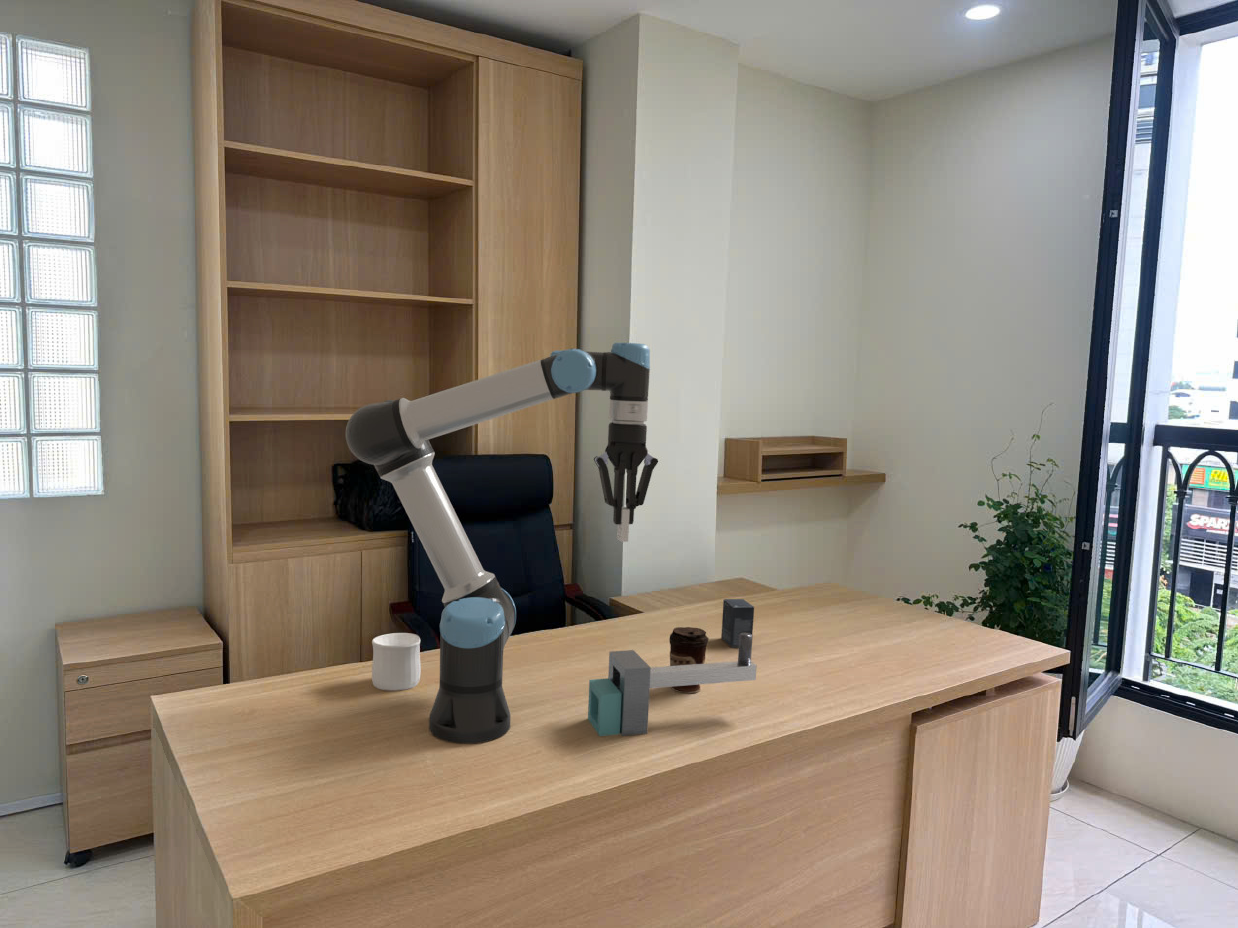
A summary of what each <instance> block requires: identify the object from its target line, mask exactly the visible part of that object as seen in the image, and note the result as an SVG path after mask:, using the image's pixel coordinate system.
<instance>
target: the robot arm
mask: <svg viewBox="0 0 1238 928" xmlns="http://www.w3.org/2000/svg"><path fill="white" fill-rule="evenodd" d="M650 352H651V350H650V347H649V346H648V345H647V344H645V343H637V342H614V343H613V344H612V345H611V349H610V351H607V352H605V351H603V352H600V351H599V352H597V351H585V350H582V349H579V348H569V349H563V350H553V351H552V352H551V353H550V355H549V356H548V357H545V358H543V359H539V360H536V361H535V360H534V361H532V362H529V363H526V364H523V365H519V366H516V367H513V368H510V369H507V370H504V371H500V372H497V373H495V374H492V375H488V376H485V377H482V378H479V379H475V380H473V381H469V382H467V383H463V384H461V385H457V386H454V387H451V388H447V389H444V390H441V391H438V392H435V393H432V394H430V395H425V396H423V397H420V398H417V399H414V400H409V399H407V398H405V397H401V398H398V399H396V400H391V399H390V400H385V401H381V402H376V403H375V402H374V403H368V404H366V405H364V406H362V407H360V408H358V409H357V410H355V412H353V414H352V415H351V416H350V418H349V419H348V421H347V424H346V427H345V440H346V445H347V446H348V449H349V450H350V452H351V453H352V454H353V455H354V456H355V457H356V458H357V459H358V460H359V461H362V462H364V463H366V464H369V465H373V466H374V468H375V470H376V472H377V474H378V476H379V477H380V479H382V480H384V481H387V482H389V483H391V484H392V486H393V489H394V490H395V492H396V495H397V497H398V498H399V500H400V503H401V504H402V506H403V508H404V510H405V513H406V514H407V516H408V518H409V520H410V522H411V524H412V527H413V528H414V531H415V533H416V534H417V537H418V538H419V540H420V542H421V544H422V546H423V549H424V550H425V552H426V554H427V557H428V559H429V560H430V563H431V564H432V567H433V569H434V571H435V573H436V575H437V577H438V579H439V581H440V583H441V585H442V586H443V589H444V593H443V595H442V599H441V602H442V604H443V607H444V609H443V610H442V612H441V618H440V623H439V632H440V642H439V645H440V646H439V648H440V649H439V685H438V690H437V693H436V696H435V699H434V702H433V705H432V708H431V711H430V713H429V715H428V716H429V717H428V730H429V732H430V734H431V735H432V736H434V737H435V738H437V739H439V740H442V741H445V742H449V743H453V744H454V743H456V744H477V743H484V742H489V741H493V740H496V739H498V738H501V737H503V736H504V735H505V734H507V733H508V732H509V731H510V728H511V711H510V709H509V705H508V702H507V698H506V696H505V692H504V688H503V674H504V672H503V669H504V668H503V667H504V666H503V665H504V649H505V646H506V644H507V642H508V640H509V638H510V637H511V635H512V633H513V631H514V629H515V625H516V623H517V622H516V621H517V609H516V605H515V602H514V600H513V598H512V596H511V595H510V593H509V592H507V591H506V590H505V589H504V588H502V587H501V586H500V583H499V581H498V580H497V577H496V575H495V573H493V572H490V571H486V570H485V569H484V568H483V566H482V563H481V562H480V560H479V557H478V555H477V554H476V551H475V550H474V548H473V545H472V544H471V543H472V542H471V541H470V539H469V537H468V535H467V534H466V531H465V529H464V527H463V525H462V523H461V521H460V519H459V517H458V515H457V513H456V511H455V508H454V507H453V505H452V503H451V501H450V498H449V496H448V494H447V492H446V491H445V489H444V487H443V484H442V482H441V480H440V478H439V477H438V474H437V472H436V470H435V468H434V466H433V460H434V457H435V455H436V454H435V451H434V449H433V447H432V444H431V443H430V440H431V439H434V438H437V437H441V436H443V435H447V434H450V433H453V432H456V431H459V430H461V429H465V428H468V427H473V426H475V425H478V424H481V423H483V422H486V421H490V420H493V419H496V418H500V417H503V416H505V415H508V414H512V413H515V412H518V411H521V410H525V409H526V408H530V407H534V406H537V405H539V404H542V403H547V402H549V401H552V400H556V399H559V398H562V397H565V396H568V395H572V394H576V393H581V392H583V391H601V392H603V391H604V392H606V391H607V392H609V406H608V407H609V408H608V410H609V411H608V419H609V420H610V421H611V422H610V423H608V432H607V435H608V436H607V445H606V447H605V450H604V452H603V453H601V455H599V456H597V455H596V456H595V457H594V458H593V461H594V463H595V465H596V466H597V469H598V474H599V478H600V479H599V480H600V483H601V490H602V494H603V499H604V502H605V504H606V505H609V506H611V507H612V508H613V514H612V515H613V518H612V519H613V520H612V521H613V524H615V525H617V528H616V529H617V532H616V540H618V541H620V542H621V543H625V542H626V543H628V542H629V532H630V525H633V524H634V519H635V510H636V508H637V507H639V506H643V505H644V502H645V499H646V497H647V492H648V488H649V486H650V481H651V478H652V474H653V472H654V470H655V468H656V467H657V465H658V463H659V460H658V458H656V457H654V456H652V455H650V454H649V453H648V452H649V450H648V448H647V444H646V443H647V431H648V430H647V429H648V428H647V427H648V426H647V424H645V422H647V420H648V407H649V405H648V404H649V402H648V401H649V387H650V386H649V384H650V371H651V370H650V369H651V362H650V361H651V353H650ZM609 461H610V464H611V465H612V466H613V472H614V479H613V483H614V484H613V487H612V484H611V483H612V482H611V479H610V473H609V468H608V464H609ZM642 463H643V468H642V470H641V471H642V472H641V474H640V478H639V481H638V486H637V475H638V471H639V470H638V469H639V467H640V465H641V464H642ZM625 474H626V485H625V486H626V487H625V506H624V483H625ZM612 488H613V489H612Z"/></svg>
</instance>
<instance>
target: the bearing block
mask: <svg viewBox="0 0 1238 928" xmlns="http://www.w3.org/2000/svg"><path fill="white" fill-rule="evenodd" d="M608 655H609V656H608V673H607V674H608V675H607V678H609V679H610V680H611V681H612V682H613V684H614V685H615V686H616V687H617V688H618V690H619V691H620V692H621V693H622V697H621V719H620V734H619V735H621V736H622V737H627V736H639V735H647V734H648V729H649V728H648V726H649V723H648V722H649V708H650V707H649V705H650V690H651V688H650V670H651V667H652V666H650V665H649V664H648V663H647V662H646V661H645V660H644V659H643V658H642V657H641V656H640V655H639V654H638V653H637V652H636V651H635V650H633V649H628V650H627V649H626V650H611V651H609V654H608Z"/></svg>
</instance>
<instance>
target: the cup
mask: <svg viewBox="0 0 1238 928" xmlns="http://www.w3.org/2000/svg"><path fill="white" fill-rule="evenodd" d="M371 644H372V650H373V651H372V652H373V656H372V666H371V681H372V685H373V686H374V687H375V688H376V689H378V690H381V691H382V690H383V691H391V692H392V691H394V692H395V691H405V690H410V689H413V688H415V687H416V686H417V685H418V684H419V682H420V680H421V673H422V672H421V667H422V665H421V657H420V655H421V654H420V653H421V652H420V650H421V648H420V646H421V638H420V636H419V635H418V634H415V633H410V632H409V633H408V632H393V633H387V634H382V635H378V636H376V637H374V638H373V639H372V640H371Z"/></svg>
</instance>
